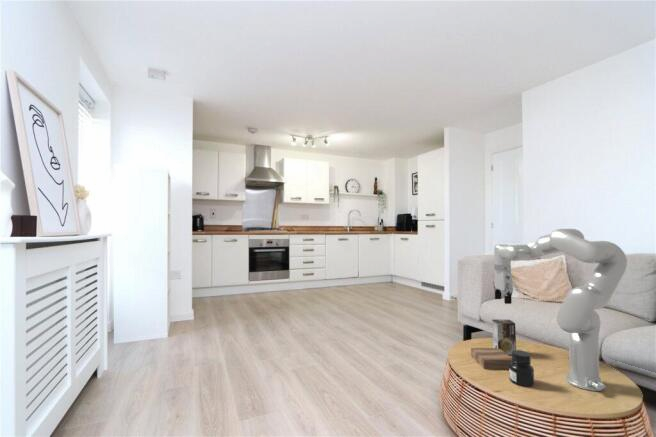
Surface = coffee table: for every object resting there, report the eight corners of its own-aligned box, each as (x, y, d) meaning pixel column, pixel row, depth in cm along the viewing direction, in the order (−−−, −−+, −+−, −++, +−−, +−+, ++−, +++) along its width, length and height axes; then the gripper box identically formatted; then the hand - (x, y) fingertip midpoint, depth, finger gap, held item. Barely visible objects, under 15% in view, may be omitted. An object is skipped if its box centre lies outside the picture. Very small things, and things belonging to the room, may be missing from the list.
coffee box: (510, 350, 166) (510, 319, 166) (516, 355, 159) (516, 323, 160) (492, 349, 167) (491, 318, 167) (497, 354, 160) (497, 322, 160)
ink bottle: (510, 374, 139) (510, 347, 139) (534, 380, 134) (533, 351, 134) (508, 383, 131) (507, 354, 131) (533, 390, 126) (533, 359, 126)
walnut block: (515, 368, 144) (515, 360, 144) (484, 368, 144) (484, 359, 145) (499, 356, 158) (499, 348, 158) (471, 356, 158) (471, 348, 159)
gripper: (519, 270, 155) (519, 305, 155) (501, 266, 172) (501, 297, 172) (504, 270, 155) (504, 305, 155) (487, 265, 173) (487, 297, 172)
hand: (502, 301), depth 164 cm, fingers open, 9 cm apart
